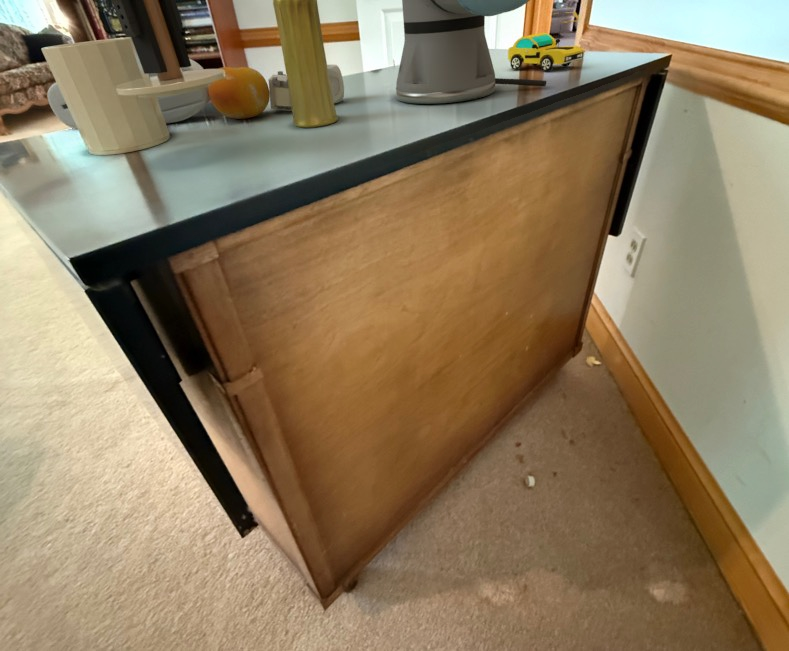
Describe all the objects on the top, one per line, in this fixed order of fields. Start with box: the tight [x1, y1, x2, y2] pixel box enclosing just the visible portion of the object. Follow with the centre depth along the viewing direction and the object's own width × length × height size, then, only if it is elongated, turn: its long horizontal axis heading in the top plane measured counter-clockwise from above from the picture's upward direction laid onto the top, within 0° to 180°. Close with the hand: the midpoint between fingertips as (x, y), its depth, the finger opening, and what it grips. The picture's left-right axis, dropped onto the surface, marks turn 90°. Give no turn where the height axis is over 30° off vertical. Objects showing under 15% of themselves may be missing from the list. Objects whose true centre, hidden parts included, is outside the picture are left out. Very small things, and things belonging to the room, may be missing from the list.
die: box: [327, 64, 345, 104], centre depth 74 cm, size 5×5×5 cm
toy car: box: [507, 11, 585, 73], centre depth 82 cm, size 12×8×8 cm, turn 40°
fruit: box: [208, 66, 270, 120], centre depth 70 cm, size 8×8×8 cm
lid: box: [115, 0, 226, 98], centre depth 48 cm, size 11×11×10 cm
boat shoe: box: [46, 58, 211, 130], centre depth 75 cm, size 10×29×10 cm
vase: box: [272, 0, 339, 129], centre depth 60 cm, size 6×6×14 cm
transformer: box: [268, 70, 292, 112], centre depth 78 cm, size 6×20×5 cm
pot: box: [40, 37, 171, 156], centre depth 60 cm, size 10×10×12 cm
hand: (168, 69), depth 50 cm, fingers closed on lid, 3 cm apart
